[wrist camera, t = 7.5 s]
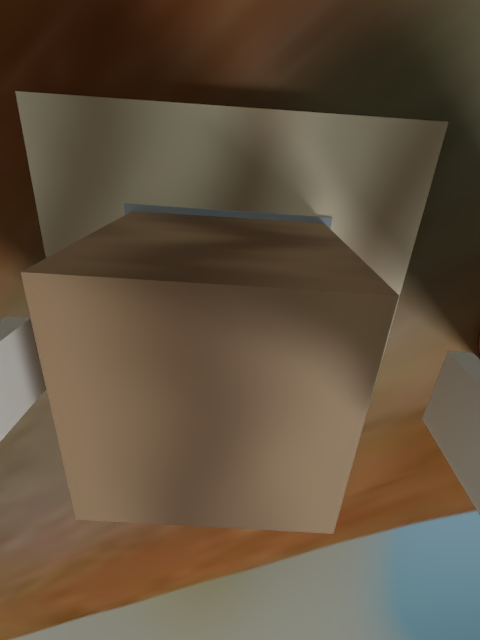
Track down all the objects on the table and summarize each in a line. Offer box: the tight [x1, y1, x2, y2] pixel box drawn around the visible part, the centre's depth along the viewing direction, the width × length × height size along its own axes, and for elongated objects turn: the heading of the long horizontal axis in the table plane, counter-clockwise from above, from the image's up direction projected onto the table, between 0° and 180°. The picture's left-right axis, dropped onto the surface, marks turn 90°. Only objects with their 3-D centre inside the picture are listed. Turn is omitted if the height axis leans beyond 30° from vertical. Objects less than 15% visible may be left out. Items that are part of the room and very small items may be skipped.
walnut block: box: [21, 211, 399, 534], centre depth 13 cm, size 8×8×8 cm
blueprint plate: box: [15, 91, 448, 418], centre depth 17 cm, size 16×16×1 cm
